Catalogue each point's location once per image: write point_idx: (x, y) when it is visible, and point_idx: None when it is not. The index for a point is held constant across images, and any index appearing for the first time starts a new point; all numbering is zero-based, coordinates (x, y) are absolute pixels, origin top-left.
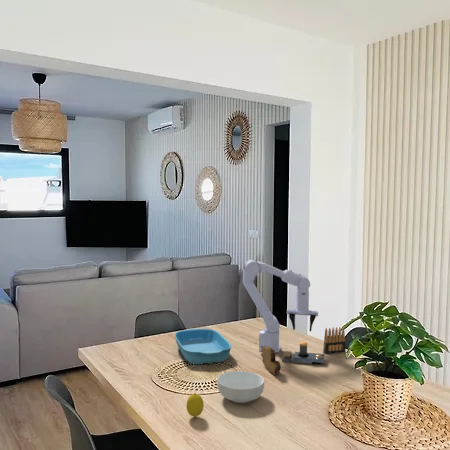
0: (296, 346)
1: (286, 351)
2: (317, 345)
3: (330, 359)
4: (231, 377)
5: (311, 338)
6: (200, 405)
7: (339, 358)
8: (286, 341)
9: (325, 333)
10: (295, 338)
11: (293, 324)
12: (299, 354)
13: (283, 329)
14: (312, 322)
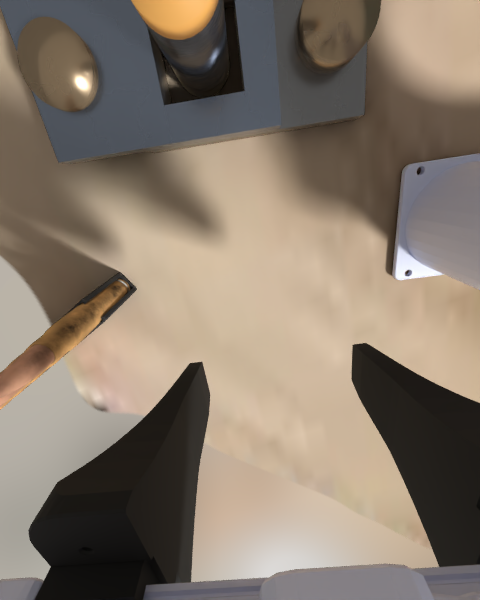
0: (303, 333)
1: (354, 41)
2: None
3: (51, 184)
4: None
5: (254, 456)
6: None
7: (15, 228)
8: None
9: (39, 349)
10: (326, 435)
11: (398, 373)
12: (239, 94)
13: (393, 511)
14: (132, 433)
